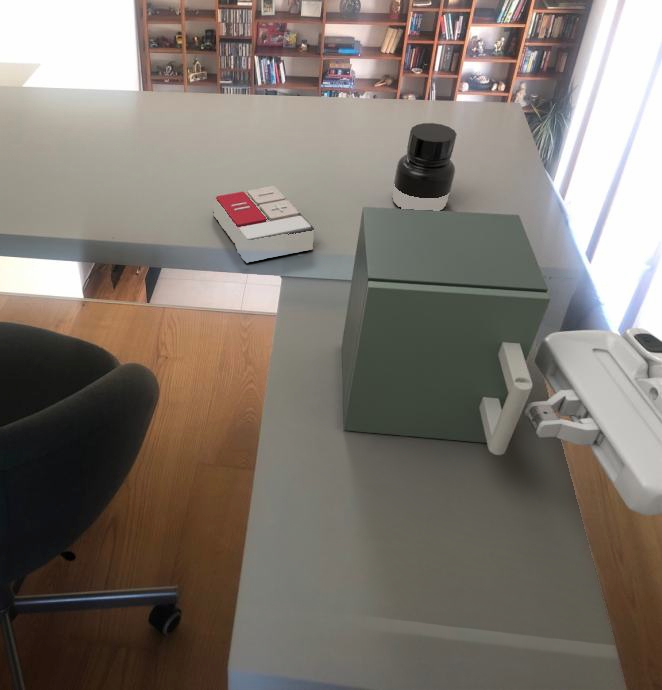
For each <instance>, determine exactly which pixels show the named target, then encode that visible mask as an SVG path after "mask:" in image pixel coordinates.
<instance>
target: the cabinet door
mask: <svg viewBox="0 0 662 690" xmlns="http://www.w3.org/2000/svg"><path fill="white" fill-rule="evenodd" d="M550 301H551V297H550V294H549V292H547V293H544V292H529V291H513V290H498V289H483V288H467V287H452V286H436V285H421V284H405V283H390V282H374V281H368V284H367V290H366V295H365V301H364V307H363V313H362V319H361V324H360V330H359V336H358V342H357V348H356V353H355V359H354V365H353V371H352V377H351V382H350V388H349V394H348V400H347V406H346V411H345V417H344V423H343V422H342V423H343V425H342V426H343V431H347V432H348V431H349V432H360V433H370V434H371V433H372V434H381V435H393V436H404V437H416V438H427V439H438V440H439V439H440V440H449V441H458V442H459V441H461V442H470V443H471V442H473V443H483V444H484V443H485V444H487V449H488V451H489V452H490V453H491V454H493V455H495V456H502V455H504V454H505V453H506V451H507V448H508V446H509V443H510V441H511V439H512V437H513V434H514V432H515V430H516V427H517V425H518V423H519V420H520V418H521V415H522V413H523V411H524V408H525V405H526V403H527V401H528V398H529V396H530V394H531V392H532V389H533V381H532V379H531V378H532V377H531V375H530V371H529V368H528V366H527V360H528V357H529V356H530V355H529V354H530V352H531V349H532V347H533V345H534V342H535V339H536V337H537V334H538V332H539V329H540V326H541V324H542V323H543V320H544V317H545V315H546V312H547V309H548V308H549V307H548V306H549V304H550Z"/></svg>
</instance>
